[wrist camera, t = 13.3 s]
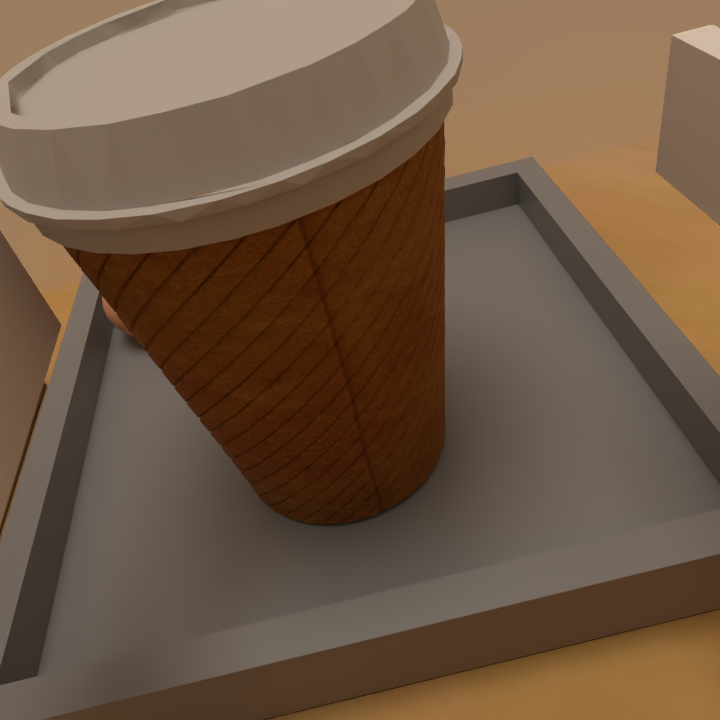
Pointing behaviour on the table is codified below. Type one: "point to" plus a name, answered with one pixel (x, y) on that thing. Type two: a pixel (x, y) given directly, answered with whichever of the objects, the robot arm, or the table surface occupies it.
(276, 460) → the disposable coffee cup
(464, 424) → the tray
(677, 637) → the table surface
